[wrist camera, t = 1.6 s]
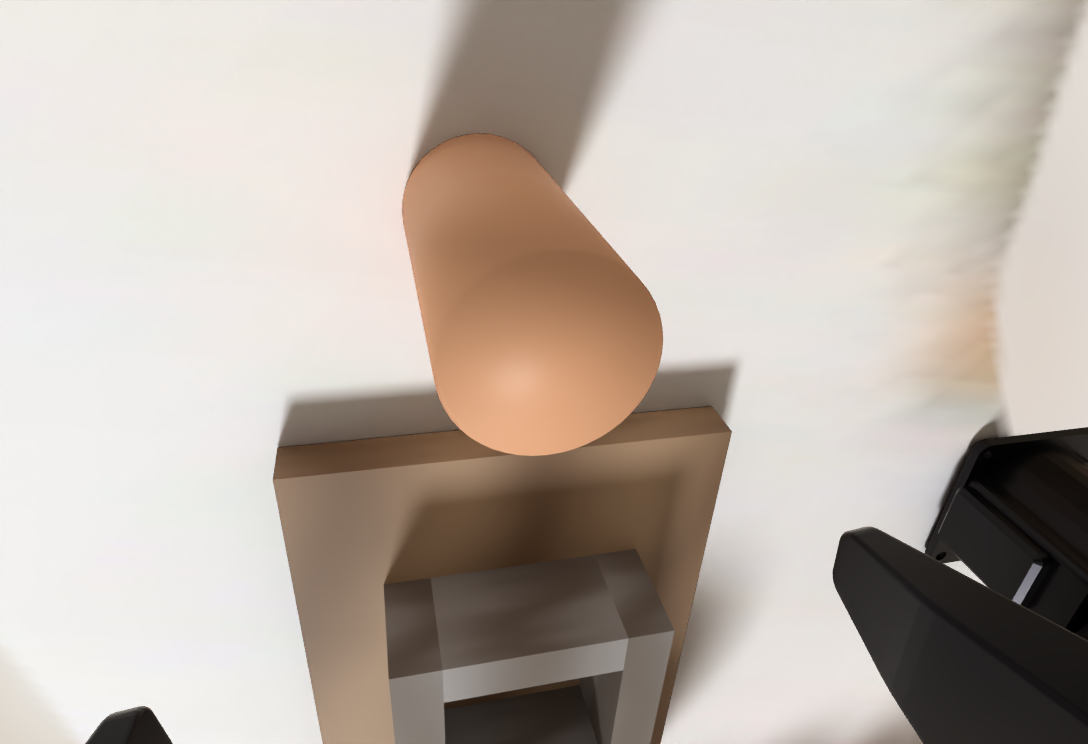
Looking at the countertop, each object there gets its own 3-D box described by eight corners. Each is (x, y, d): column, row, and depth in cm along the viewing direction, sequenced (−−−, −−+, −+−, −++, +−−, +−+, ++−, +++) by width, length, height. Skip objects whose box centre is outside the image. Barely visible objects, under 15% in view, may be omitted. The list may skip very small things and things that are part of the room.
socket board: (711, 406, 24) (788, 503, 20) (646, 724, 33) (688, 836, 29) (277, 447, 21) (259, 573, 17) (338, 786, 30) (336, 921, 26)
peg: (556, 133, 18) (678, 245, 11) (548, 277, 20) (647, 444, 13) (397, 133, 17) (429, 255, 10) (406, 284, 19) (437, 466, 12)
